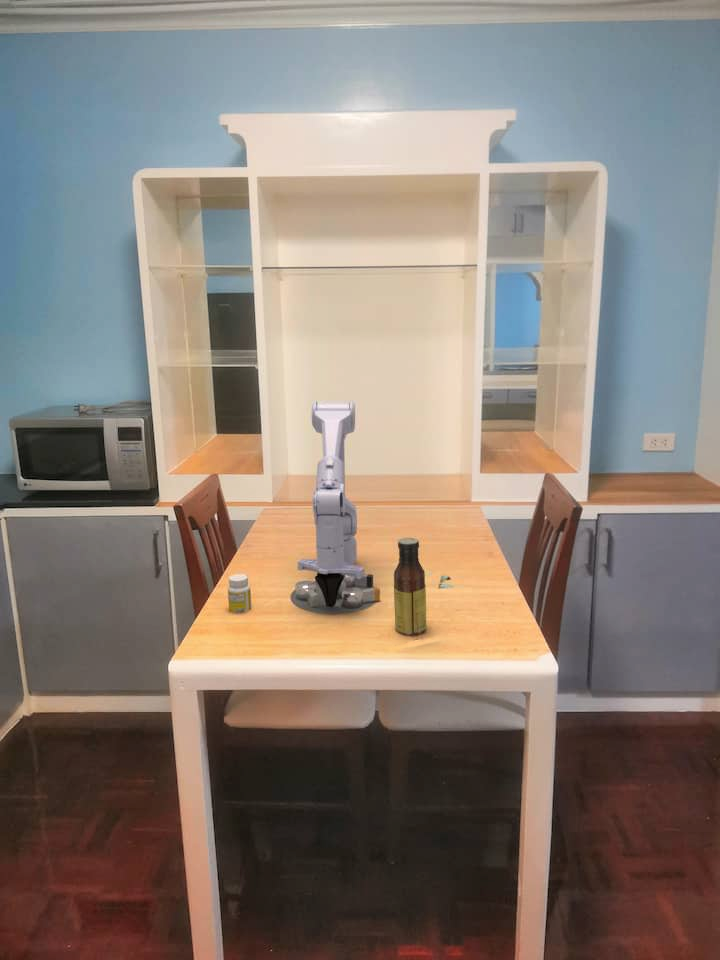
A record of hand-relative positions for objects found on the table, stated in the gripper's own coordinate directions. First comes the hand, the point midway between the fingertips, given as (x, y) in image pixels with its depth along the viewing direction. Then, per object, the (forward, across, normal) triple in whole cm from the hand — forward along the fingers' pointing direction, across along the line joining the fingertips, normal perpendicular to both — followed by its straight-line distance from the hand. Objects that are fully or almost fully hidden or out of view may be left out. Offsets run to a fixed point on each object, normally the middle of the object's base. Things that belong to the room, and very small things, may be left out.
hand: (331, 605), depth 140 cm
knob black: (+1, 0, +14) cm, 14 cm away
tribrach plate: (+2, -2, +7) cm, 8 cm away
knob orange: (+1, +5, +5) cm, 7 cm away
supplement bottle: (+2, -18, -7) cm, 20 cm away
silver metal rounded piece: (+1, -7, +3) cm, 7 cm away
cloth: (+3, +11, +27) cm, 29 cm away
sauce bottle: (+2, +19, -3) cm, 19 cm away
